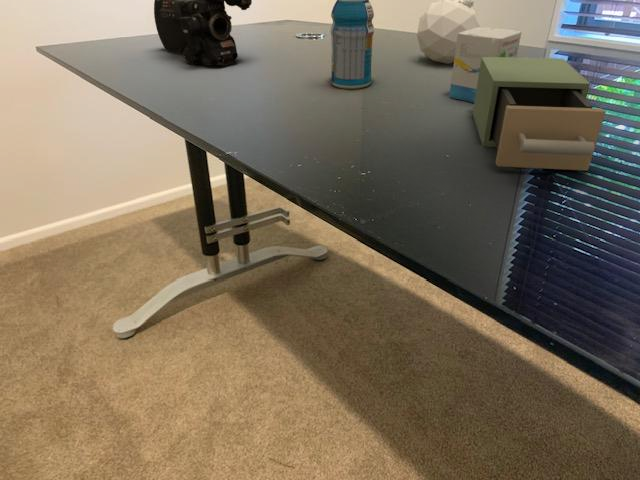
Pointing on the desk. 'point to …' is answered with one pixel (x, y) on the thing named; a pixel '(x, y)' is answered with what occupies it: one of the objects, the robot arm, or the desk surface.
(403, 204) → the desk surface
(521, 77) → the green nightstand
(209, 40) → the movie camera
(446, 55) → the geodesic sphere
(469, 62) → the ink box
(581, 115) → the drawer
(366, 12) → the beverage bottle
